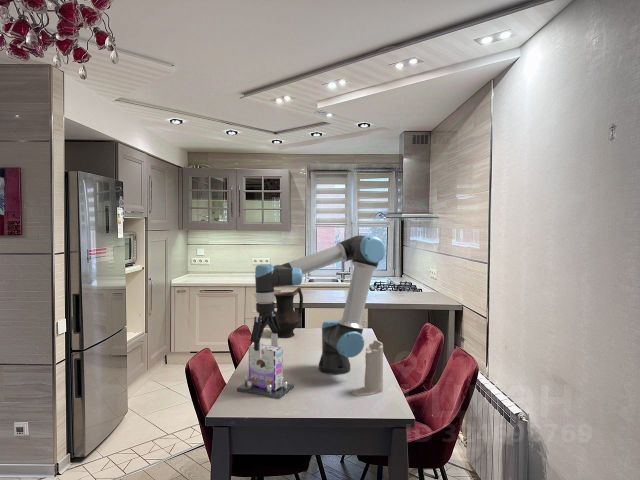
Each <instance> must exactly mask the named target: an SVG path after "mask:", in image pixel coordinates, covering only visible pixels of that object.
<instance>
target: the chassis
mask: <svg viewBox="0 0 640 480" xmlns="http://www.w3.org/2000/svg"><path fill="white" fill-rule="evenodd" d="M293 388H295V384H292V383H288V381H287V380H283V387H281V388H279V389H277V390H275V391H274V390H272V384H267V389H265V388H260V387H256V386H252V381H249V374H246V375H244V383H242V384H240V385H239V386H238V387H236V392H240V393H244V394H251V395H255V396H256V395H257V396H261V395H262V397H267V396H268V398H273V397H274V399H279V398H281V399H282V398H283V397H284V396H286V395H287V394H288V393H290V392H291V391H292V390H293ZM290 390H291V391H290ZM289 391H290V392H289ZM285 394H286V395H285Z"/></svg>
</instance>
